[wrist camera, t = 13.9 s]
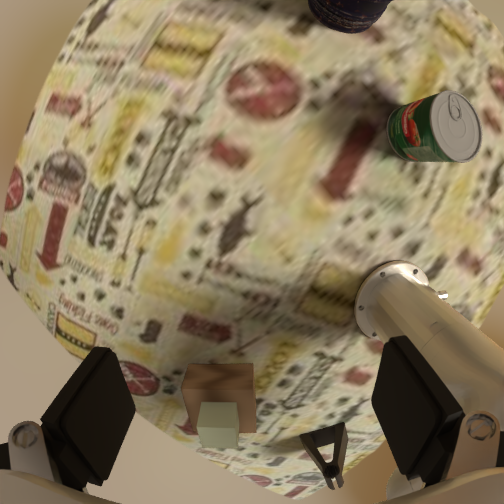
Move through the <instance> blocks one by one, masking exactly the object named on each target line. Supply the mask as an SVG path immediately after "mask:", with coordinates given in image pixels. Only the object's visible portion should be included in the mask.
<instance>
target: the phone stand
mask: <svg viewBox="0 0 504 504" xmlns="http://www.w3.org/2000/svg"><path fill="white" fill-rule="evenodd" d="M300 439H301V441H302V443H303V445H304V448H305V450H306V452H307V453H308V454H309V456H310V457H311V458H312V460H313V461H314V462H315V464H316V465H317V466H318V468H319V469H320V470H321V472H322V473H323V476H324V478H325V480H326V483H327V485H328V487H329V488H330V489H332V490H334V489H335V488H334V486H333V483H332V480H331V478H332V479H334V477H335V478H336V481H337V484H338V487H339V488H341V487H342V486H343V483H344V481H343V478H342V470H343V465H344V460H345V455H346V449H347V443H348V436H347V431H346V427H345V423H344V422H342V423H339V424H336V425H333V426H329V427H326V428H323V429H319V430H316V431H312V432H309V433H305V434H301V435H300ZM332 443H334V453H333V460H332V461H331V462H330V463H326V462H325V461H324V459H323V457H322V456H321V454H320V453H319V451H318V449H317V448H318V447H321V446H325V445H328V444H332Z"/></svg>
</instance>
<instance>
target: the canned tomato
mask: <svg viewBox="0 0 504 504" xmlns="http://www.w3.org/2000/svg"><path fill="white" fill-rule="evenodd" d="M387 136H388V140H389V143H390V145H391V147H392V148H393V150H394V151H395V152H396V153H397V155H399V156H400V157H401V158H403V159H405V160H407V161H411V162H418V161H420V162H460V163H465V162H469V161H471V160H473V159H474V158H475V157H476V155H477V154H478V152H479V150H480V147H481V143H482V127H481V123H480V119H479V116H478V114H477V112H476V110H475V108H474V107H473V105H472V104H471V103H470V101H469V100H468V99H467V98H466V97H464V96H463V95H462V94H460V93H458V92H456V91H452V90H446V91H443V92H441V93H438V94H435V95H432V96H429V97H426V98H424V99H421V100H418V101H415V102H412V103H410V104H407V105H404V106H401V107H398V108H397V109H395V110H394V111H393V112H392V113H391V114H390V116H389V118H388V121H387Z"/></svg>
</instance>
